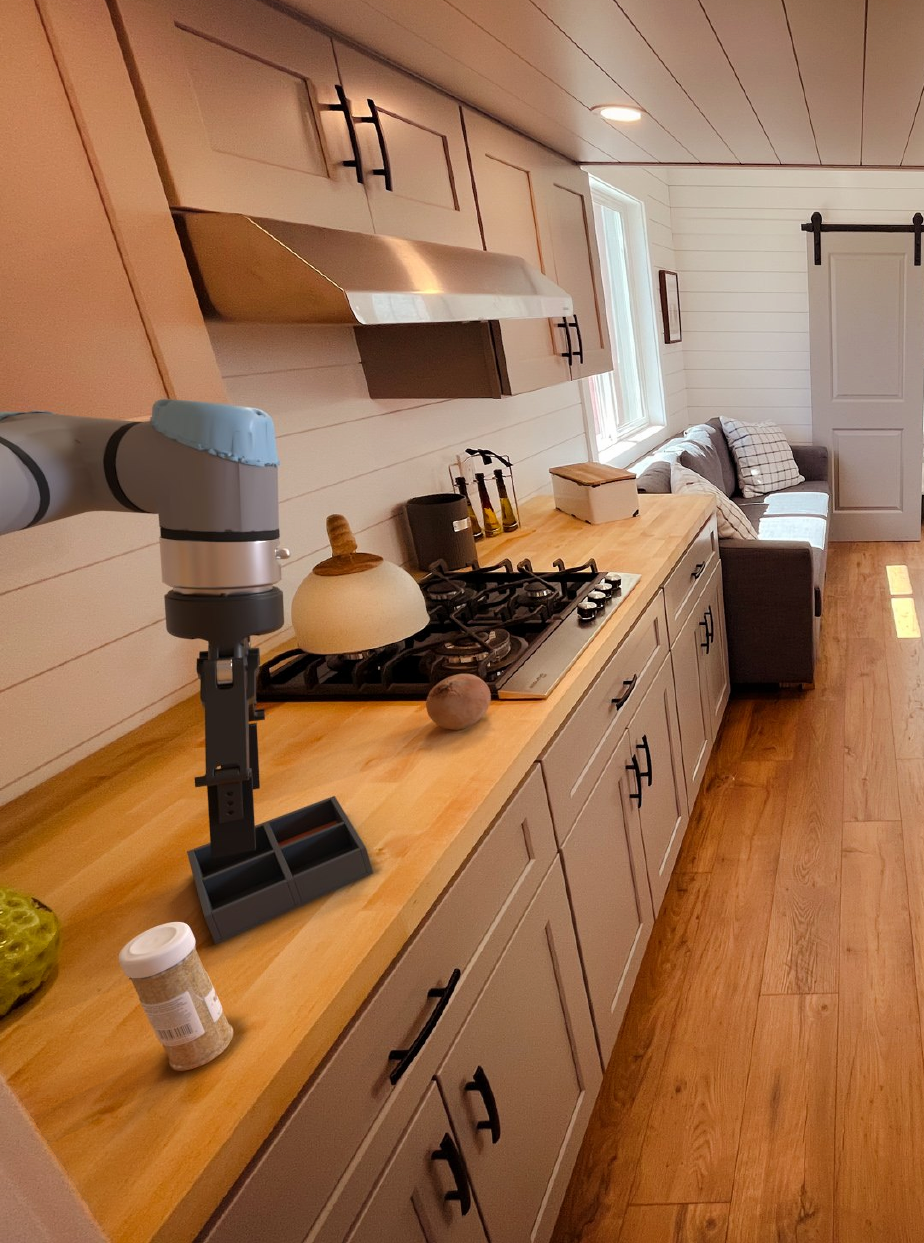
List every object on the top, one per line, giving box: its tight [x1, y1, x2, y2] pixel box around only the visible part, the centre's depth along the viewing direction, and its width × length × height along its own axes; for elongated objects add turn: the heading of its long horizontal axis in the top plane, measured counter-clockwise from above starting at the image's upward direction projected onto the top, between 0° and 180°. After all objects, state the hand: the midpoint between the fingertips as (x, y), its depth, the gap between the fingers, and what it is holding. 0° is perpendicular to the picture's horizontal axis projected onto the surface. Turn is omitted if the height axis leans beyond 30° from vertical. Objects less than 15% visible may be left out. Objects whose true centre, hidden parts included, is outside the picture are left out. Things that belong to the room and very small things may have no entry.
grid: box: [186, 795, 374, 946], centre depth 86 cm, size 15×15×4 cm
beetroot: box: [425, 673, 492, 731], centre depth 119 cm, size 10×9×10 cm
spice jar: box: [117, 921, 234, 1072], centre depth 64 cm, size 5×5×14 cm
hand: (238, 819), depth 64 cm, fingers open, 13 cm apart
